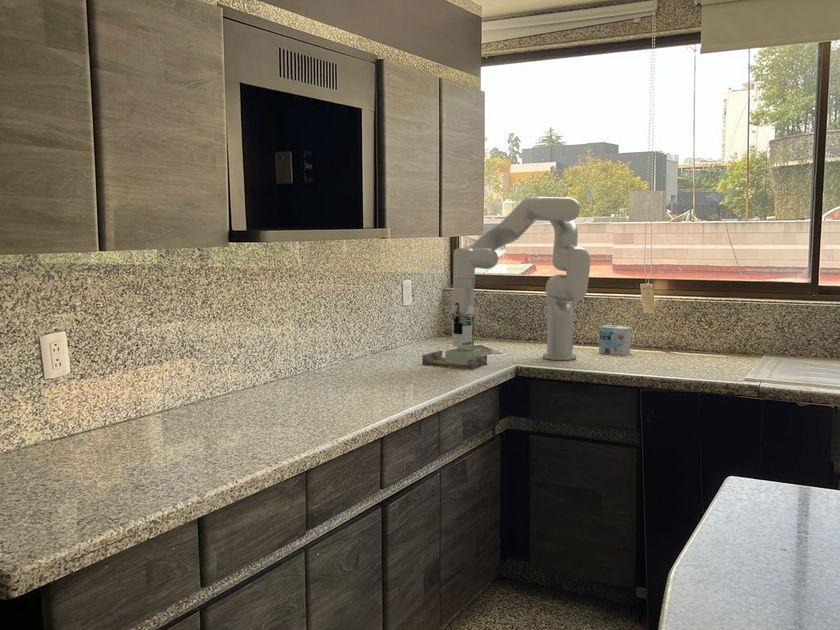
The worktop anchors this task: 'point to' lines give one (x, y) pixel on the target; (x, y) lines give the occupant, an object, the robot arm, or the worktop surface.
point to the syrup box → (465, 330)
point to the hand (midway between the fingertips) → (463, 332)
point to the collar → (461, 355)
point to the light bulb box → (615, 339)
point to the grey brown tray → (438, 360)
